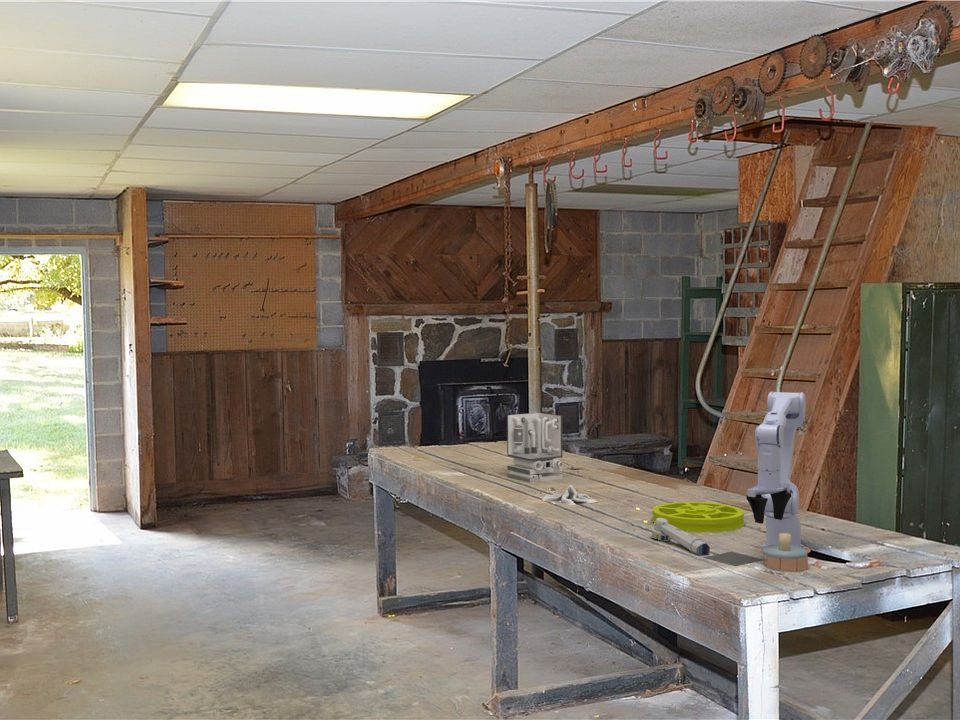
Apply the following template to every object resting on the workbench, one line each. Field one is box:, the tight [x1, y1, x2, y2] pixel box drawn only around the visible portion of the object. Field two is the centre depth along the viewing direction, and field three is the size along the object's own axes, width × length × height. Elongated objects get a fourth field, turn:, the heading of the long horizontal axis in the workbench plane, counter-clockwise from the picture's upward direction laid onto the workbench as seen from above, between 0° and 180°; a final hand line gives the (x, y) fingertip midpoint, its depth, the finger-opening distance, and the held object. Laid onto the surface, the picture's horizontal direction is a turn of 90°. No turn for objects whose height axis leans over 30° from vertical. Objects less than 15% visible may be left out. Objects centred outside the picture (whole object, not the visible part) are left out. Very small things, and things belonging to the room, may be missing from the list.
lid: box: [761, 533, 808, 559], centre depth 251 cm, size 11×11×5 cm
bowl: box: [764, 555, 809, 572], centre depth 251 cm, size 10×10×4 cm
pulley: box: [652, 501, 745, 533], centre depth 306 cm, size 28×28×5 cm
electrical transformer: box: [506, 412, 563, 484], centre depth 389 cm, size 16×19×25 cm
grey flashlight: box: [650, 518, 711, 556], centre depth 275 cm, size 5×7×25 cm
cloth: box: [541, 484, 598, 506], centre depth 341 cm, size 22×19×6 cm
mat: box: [703, 551, 764, 567], centre depth 259 cm, size 11×11×1 cm
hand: (768, 521), depth 259 cm, fingers open, 7 cm apart
